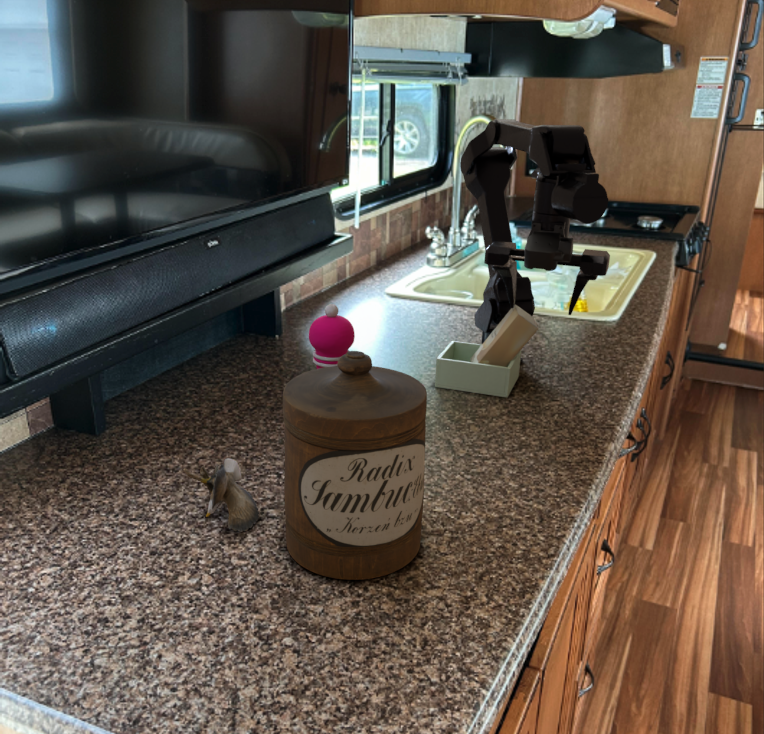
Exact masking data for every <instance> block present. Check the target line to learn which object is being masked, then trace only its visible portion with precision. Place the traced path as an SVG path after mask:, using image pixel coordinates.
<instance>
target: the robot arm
mask: <svg viewBox="0 0 764 734" xmlns="http://www.w3.org/2000/svg"><path fill="white" fill-rule="evenodd" d="M585 132H586V130H585V128H584V127H583V126H582V125H580V124H541V125H540V124H539V125H534V124H530V123H526V122H521V121H518V120H516V119H515V118H514V119H513V118H512V119H509V118H495V119H493V120H490V121H489V122H488V123H487V124H486V127H485V129H484V130H483V131H482V132H480V133H479V134H477V135H476V136H475V137H474V138H472V139H471V140H470V141H469V142H468V144H467V145H466V148H465V149H464V151H463V153H462V155H461V157H460V162H459V163H460V164H459V167H460V171H461V174H462V176H463V180H464V184H465V188H466V189H467V190H468V192H470V194H471V195H472V197H474V198H475V199H476V201H477V207H478V213H479V219H480V225H481V232H482V238H483V244H484V262H483V263H484V265H487V270H488V277H489V279H488V280H487V283H486V286H485V287H484V290H483V293H482V298H483V302H482V303H481V305H480V306H479V307H478V308H477V310H476V311H475V312H474V316H473V317H474V326H475V327H476V328H477V329H479V330H480V331H481V343H480V344H483V343H484V341H485V340H486V339H487V338H488V337H489V335H490V334H491V333H492V332H493V330H494V329H495V328H496V327H497V326H498V324H499V323H500V322H501V321H502V319H503V318H504V317H505V316H506V314H507V313H508V312H509V311H510V309H511V308H514V307H515V305H517V306H518V307H520V308H521V309H523V310H524V311H525V312H527V313H528V314H530V315H531V316H532V317H534V313H535V310H536V306H535V297H534V295H533V290H532V282H531V279H530V278H529V276H522V275H521V273H520V272H519V271H518V268H517V267H518V262H523V267H524V268H526V269H528V270H534V269H537V270H544V271H547V272H552V271H556V269H557V268H558V266H566V267H577V268H579V270H578V273H577V274H576V278H575V283H574V286H573V289H572V290H573V291H572V294H571V298H570V302H569V305H568V313H567V315H568V316H571V315H572V314H573V311H574V309H575V307H576V306H577V303H578V301H579V298H580V296H581V294H582V292H583V291H584V289H585V287H586V286H587V285H588V283H589V282H590V281H596V280H597V279H598V276H599V277H603V276H605V277H606V276H607V273H608V270H609V268H610V267H609V266H610V260H611V255H610V253H609V252H608V251H607V250H600V249H587V248H585V249H584V250H583V252H582V254H578V253H574V252H573V251H574V237H569V234H570V225H571V221H572V220H573V221H576V222H578V223H582V224H585V225H586V224H588V225H589V224H593V223H596V222H597V221H599V220H600V219H601V218H602V217H603V216H604V214H606V213H605V212H606V211H607V208H608V205H609V197H608V192H607V190H606V188H605V187H604V185H603V184H601V183H599V179H600V174H599V173H597V171H596V166H595V165H596V162H595V158H594V156H593V154H592V149H591V146H590V143H589V138H588V136H587V134H586V133H585ZM494 145H500V146H494ZM502 146H504V147H505V148H504V147H502ZM517 150H518V151H521V152H524V153H527V154H528V159H529V160H530V161H532V162H533V163H535V164H536V165H537V167H536V168H535V169H534V170H533V171H532V172H531V173H530V178H532V179H536V180H535V189H534V200H533V208H532V216H531V217H532V221H531V228H530V231H529V234H528V236H527V238H526V243H525V245H524V249H523V248H517V243H516V242H513V238H512V237H513V236H512V232H511V231H512V230H511V225H510V220H509V219H510V218H509V214H508V213H509V212H508V206H507V201H506V193H505V192H506V189H507V187H508V184H509V182H510V179H511V177H512V174H511V173H512V171H511V169H512V168H513V166H514V165H515V163H516V162H517V160H518V155H517V154H518V153H517ZM523 361H524V358H523V357H521V358H520V363H521V362H523Z"/></svg>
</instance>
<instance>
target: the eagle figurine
mask: <svg viewBox="0 0 764 734" xmlns="http://www.w3.org/2000/svg"><path fill="white" fill-rule="evenodd" d="M240 469H241V467H240V465H239V463H238V461H236V460H235V459H233V458H227V457H226V458H225V459H224V460H223V464H221V465H220V469H219V465H218V464H215V467H214V471H213V473H212V474H211V476H209V473H208V471H207V469H206V468H205V466H201V468H200V470H199V474H197V473H194V472H192V471H190V470H189V469H188V468H183V469H182V471H183V472H184V473H185V475H186V476H188V477H189V478H191V479H193V480H196V481H198V482H200V483H201V484H203V485H204V487H206V488H207V490H208V492H209V493H210V495H209V496H210V497H209V502H208V507H207V512H206V515H205V517H206V518H208V517H210V515H212V514H214V513H215V512H216V510H217V508H218V506H219V504H220V503H222V502H223V503H225V505H226V507H227V508H226V509H227V511H228V518H227V526H228V529H229V530H232V531H234V532H237V531H238V532H239V533H243V532H247V531H249V529H252V528H253V526H254V525H256V524H257V521H258V520H259V518H260V516H259V515H260V511H259V507H258V505H257V503H256V502H255V499H254V497H253V496H252V495H251V493H250V492H249V491H247V489H245V488H244V487H242V486H241V485H240V484H238V483H237V482H238V481H240V480H241V479H242V472H241V470H240Z"/></svg>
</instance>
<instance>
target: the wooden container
mask: <svg viewBox="0 0 764 734" xmlns="http://www.w3.org/2000/svg"><path fill="white" fill-rule="evenodd" d="M427 406H428V391H427V388H426V387H425V386H424V384H423V383H422V382H421V381H419V380H418V379H417V378H415V377H413V376H411V375H409V374H407V373H405V372H402V371H399V370H395V369H391V368H387V367H381V366H375V365H373V362H372V358H371V356H369V355H368V354H366V353H365V352H363V351H359V350H349V352H347V353H346V354H344V355H342V356H341V357H340V358H339V360H338V363H337V366H330V367H324V368H319V369H312V370H308V371H305V372H302V373H301V374H298V375H297V376H294V377H293V378H292V379H291V380H289V381H288V382H287V383H286V384H285V386H284V388H283V392H282V414H283V415H282V418H283V423H284V424H283V425H284V428H283V430H284V432H283V433H284V474H283V475H284V482H283V483H284V485H283V486H284V487H283V491H284V493H283V495H284V497H283V499H284V514H285V520H284V521H285V523H284V524H285V543H286V549H287V551H288V553H289V555H290V557H291V558H292V559H293V561H295V562H296V563H297V564H298V565H300V566H301V567H303V568H304V569H305V570H308V571H310V572H312V573H314V574H317V575H320V576H323V577H327V578H331V579H337V580H346V581H348V580H349V581H358V580H359V581H360V580H370V579H374V578H379V577H384V576H388V575H390V574H393V573H395V572H397V571H399V570H401V569H402V568H404V567H406V566H407V565H409V564H410V563H411V562H412V561H413V560H414V558H416V557H417V554H418V553H419V550H420V548H421V543H422V542H421V540H422V528H423V527H422V526H423V514H424V513H423V512H424V501H425V500H424V499H425V498H424V497H425V496H424V495H425V474H426V473H425V472H426V471H425V467H426V465H425V463H426V462H425V461H426V437H427V436H426V434H427V433H426V432H427V430H426V429H427V424H426V420H427Z"/></svg>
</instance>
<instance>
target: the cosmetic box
mask: <svg viewBox="0 0 764 734" xmlns="http://www.w3.org/2000/svg"><path fill="white" fill-rule="evenodd" d="M539 329H540V328H539V326H538V323H537V322H536V320H535V318H534V316H531V315H530V314H528V313H527V312H525V311H524V310H523V309H521V308H520V307H518V306H517V305H515V307H514V308H511V309H510V311H509V312H508V313H507V314H506V316H505V317H504V318H503V319H502V321H501V322H500V323H499V324H498V326H497V327H496V328H495V329H494V330H493V332H492V333H491V334H490V335H489V337H488V338H487V339H486V340H485V341H484V343H483V344H482V345H481V346H480V348H479V349H478V350H477V351H476V352H475V354H474V355H473V356H472V357H471V359H470V360H471V362H473V363H481V364H488V365H495V366H502V367H507V366H508V365H509V364H510V362H511V361H512V360H513V359H514V358H515V357H516V355H517V354H518V353H519V352H520V351H521V352H522V350H523V349H524V347H525V346H526V345H527V343H528V342H529V341H530V340H531V339H532V338H533V336H534V335H535V334H536V333H537V332H538V331H539Z"/></svg>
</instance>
